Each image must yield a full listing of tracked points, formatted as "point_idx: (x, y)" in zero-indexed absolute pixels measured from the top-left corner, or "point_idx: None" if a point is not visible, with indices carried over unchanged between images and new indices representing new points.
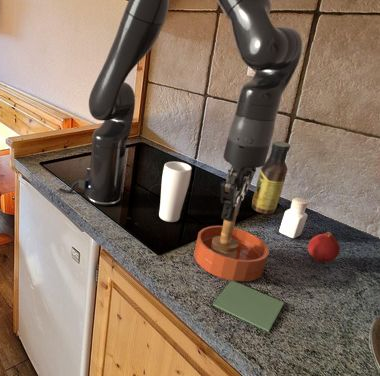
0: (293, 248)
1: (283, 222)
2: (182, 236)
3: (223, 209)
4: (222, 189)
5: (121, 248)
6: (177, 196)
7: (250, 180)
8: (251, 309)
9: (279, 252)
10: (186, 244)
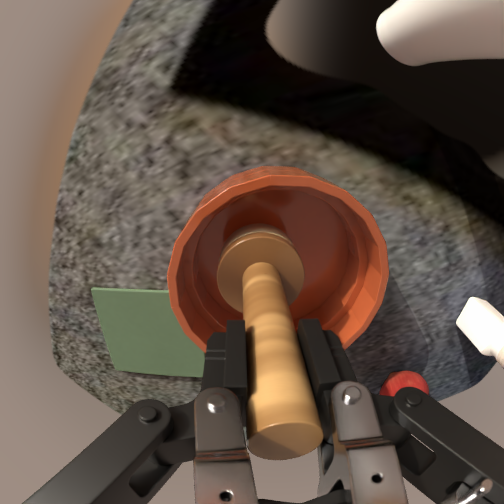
0: (423, 334)
1: (482, 313)
2: (331, 100)
3: (225, 354)
4: (42, 495)
5: (130, 10)
6: (437, 28)
7: (424, 492)
8: (137, 344)
9: (397, 323)
10: (293, 126)
